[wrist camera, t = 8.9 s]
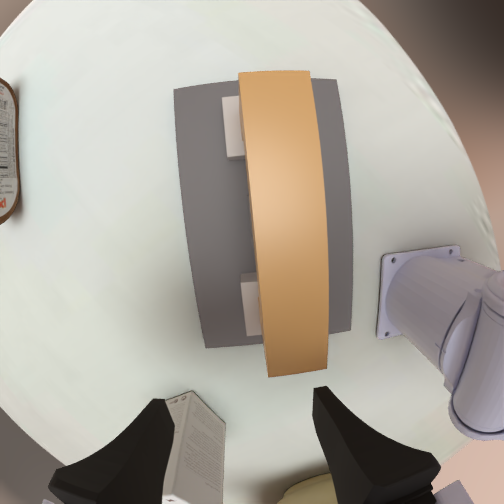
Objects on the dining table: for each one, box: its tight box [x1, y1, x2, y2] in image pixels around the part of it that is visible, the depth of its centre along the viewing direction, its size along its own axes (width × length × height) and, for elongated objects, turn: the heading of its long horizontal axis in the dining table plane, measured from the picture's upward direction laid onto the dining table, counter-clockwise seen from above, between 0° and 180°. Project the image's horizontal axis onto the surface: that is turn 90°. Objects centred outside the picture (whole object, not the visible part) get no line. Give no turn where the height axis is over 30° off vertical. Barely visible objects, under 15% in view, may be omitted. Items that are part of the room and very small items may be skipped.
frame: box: [238, 71, 329, 377], centre depth 14 cm, size 3×14×6 cm, turn 6°
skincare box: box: [162, 391, 226, 504], centre depth 18 cm, size 6×4×12 cm
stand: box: [174, 78, 353, 348], centre depth 18 cm, size 12×20×4 cm, turn 5°
